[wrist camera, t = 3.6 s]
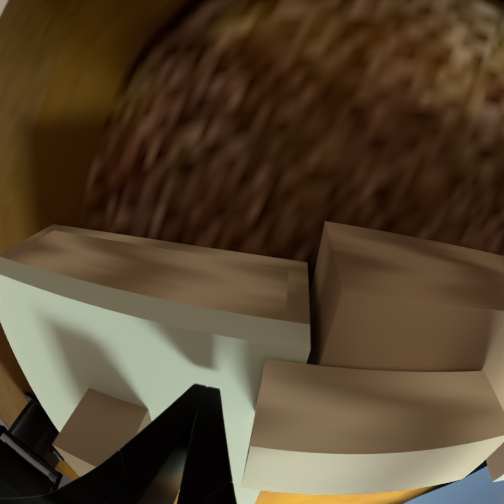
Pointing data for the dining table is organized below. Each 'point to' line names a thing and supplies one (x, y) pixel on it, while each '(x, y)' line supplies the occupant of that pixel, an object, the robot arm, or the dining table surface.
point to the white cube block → (496, 464)
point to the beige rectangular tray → (316, 292)
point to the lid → (134, 360)
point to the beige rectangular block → (368, 429)
